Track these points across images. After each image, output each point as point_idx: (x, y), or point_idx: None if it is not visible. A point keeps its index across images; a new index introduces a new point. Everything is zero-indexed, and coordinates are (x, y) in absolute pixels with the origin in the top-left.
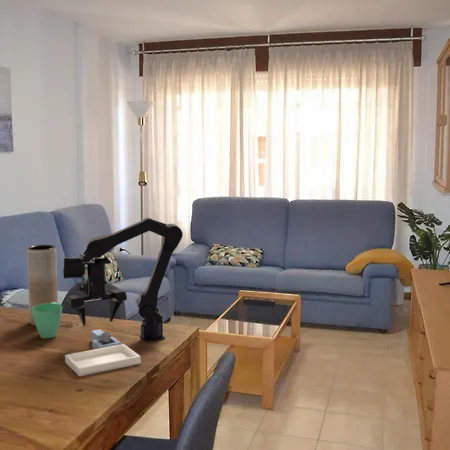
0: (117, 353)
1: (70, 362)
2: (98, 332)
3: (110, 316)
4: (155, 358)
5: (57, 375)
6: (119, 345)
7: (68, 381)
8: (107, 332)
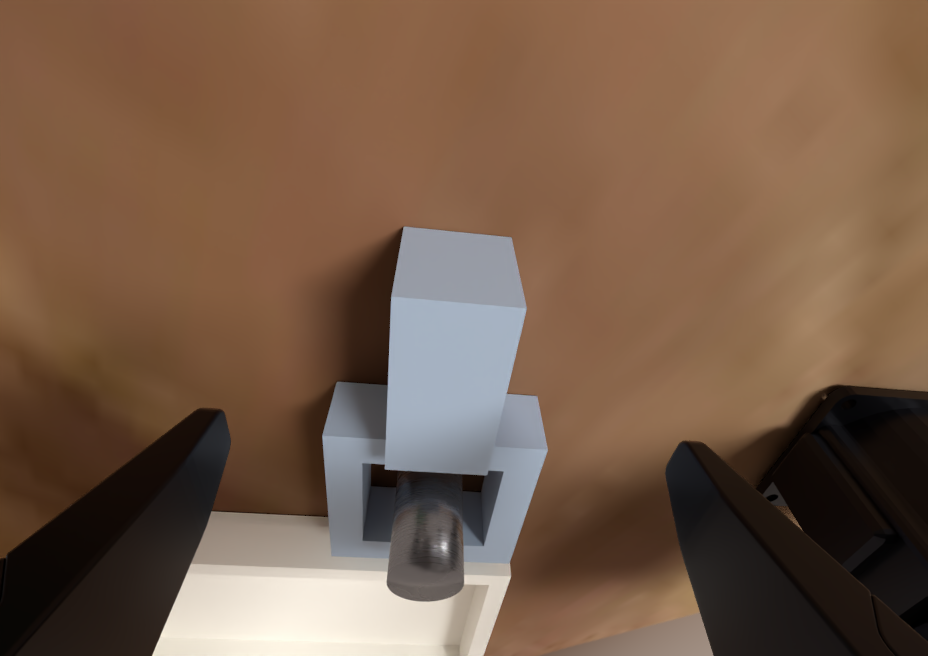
0: None
1: None
2: (440, 396)
3: (707, 538)
4: (569, 632)
5: None
6: (470, 582)
7: None
8: (449, 572)
